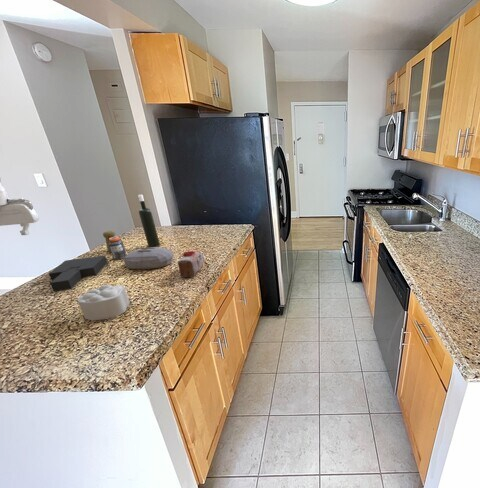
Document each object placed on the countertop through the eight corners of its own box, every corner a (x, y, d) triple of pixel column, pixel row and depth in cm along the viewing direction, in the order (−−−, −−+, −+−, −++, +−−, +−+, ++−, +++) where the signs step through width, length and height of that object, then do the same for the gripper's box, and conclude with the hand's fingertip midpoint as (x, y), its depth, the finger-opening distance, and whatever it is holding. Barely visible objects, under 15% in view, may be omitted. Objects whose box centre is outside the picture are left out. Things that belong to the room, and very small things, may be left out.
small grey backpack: (122, 272, 122) (166, 270, 124) (116, 256, 119) (162, 254, 121) (140, 258, 136) (180, 256, 138) (136, 243, 133) (176, 242, 134)
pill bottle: (118, 255, 140) (111, 235, 135) (129, 254, 140) (123, 235, 136) (110, 260, 134) (103, 240, 130) (123, 259, 135) (116, 239, 130)
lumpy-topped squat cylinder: (122, 315, 92) (114, 295, 89) (77, 323, 88) (67, 302, 85) (132, 299, 101) (125, 280, 98) (92, 306, 97) (84, 286, 94)
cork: (119, 246, 151) (114, 228, 147) (121, 249, 147) (115, 231, 143) (106, 249, 147) (100, 231, 143) (108, 252, 143) (101, 234, 139)
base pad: (52, 281, 114) (48, 273, 113) (68, 267, 126) (65, 260, 125) (96, 275, 119) (93, 267, 118) (107, 262, 132) (105, 255, 130)
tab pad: (53, 291, 107) (49, 282, 105) (69, 276, 118) (66, 268, 117) (71, 288, 109) (68, 280, 107) (85, 274, 120) (82, 266, 119)
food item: (189, 264, 129) (185, 246, 125) (206, 263, 130) (202, 245, 126) (179, 278, 116) (174, 258, 113) (197, 277, 118) (193, 257, 114)
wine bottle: (153, 247, 149) (139, 196, 138) (146, 246, 151) (131, 195, 140) (162, 244, 154) (148, 194, 143) (155, 243, 156) (141, 193, 145)
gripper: (34, 196, 99) (49, 230, 104) (-40, 200, 93) (-20, 236, 98) (23, 199, 94) (39, 235, 99) (-57, 204, 87) (-35, 242, 93)
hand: (9, 236), depth 98 cm, fingers open, 8 cm apart
